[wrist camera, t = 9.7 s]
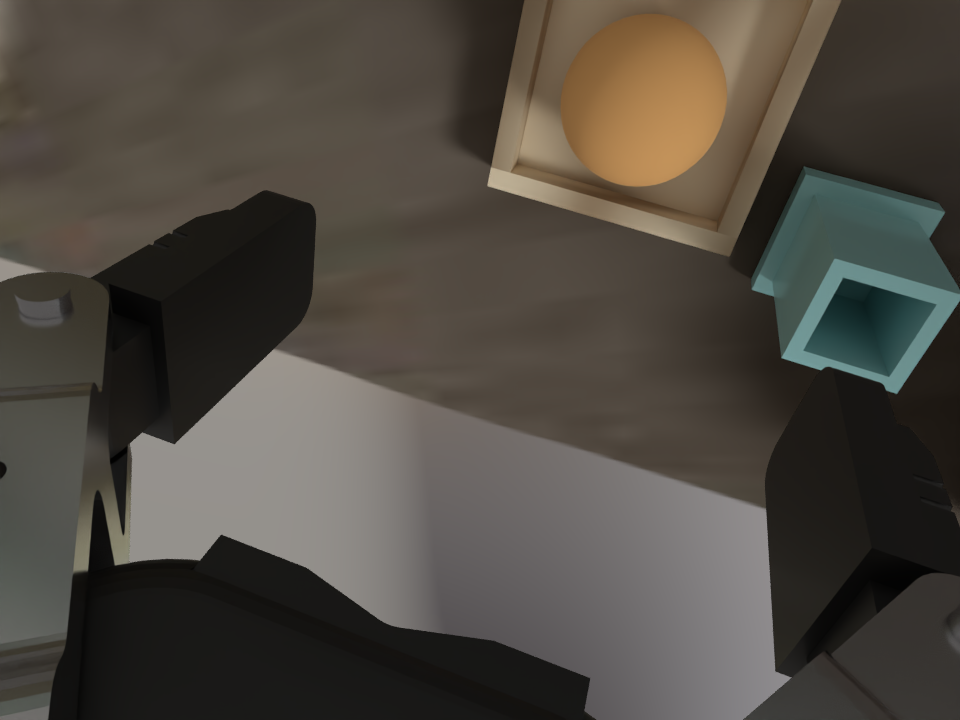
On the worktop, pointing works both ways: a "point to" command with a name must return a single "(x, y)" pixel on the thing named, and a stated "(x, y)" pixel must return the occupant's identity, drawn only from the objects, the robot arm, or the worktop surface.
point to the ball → (643, 100)
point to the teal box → (856, 278)
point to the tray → (732, 156)
